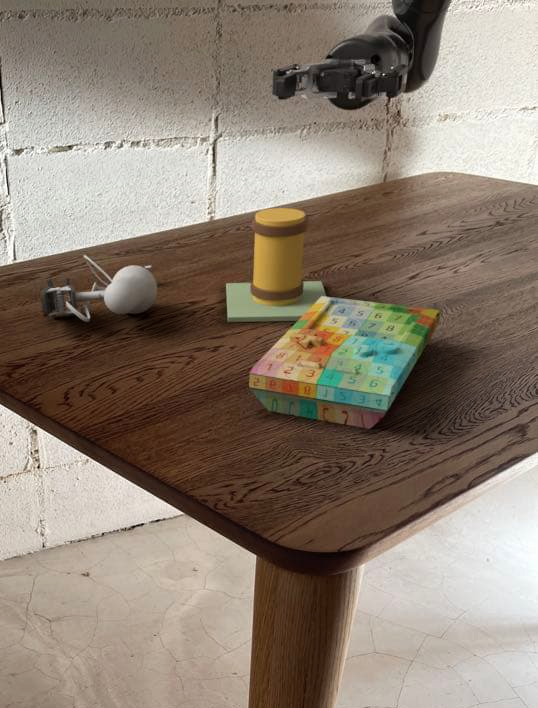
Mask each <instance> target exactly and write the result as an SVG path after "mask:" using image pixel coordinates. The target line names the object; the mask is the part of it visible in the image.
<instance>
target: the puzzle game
mask: <svg viewBox="0 0 538 708" xmlns="http://www.w3.org/2000/svg"><path fill="white" fill-rule="evenodd" d="M441 313H442V311H441V310H440V309H433V308H425V307H417V306H409V305H401V304H400V305H399V304H391V303H385V302H383V303H382V302H374V301H368V300H367V301H366V300H358V299H349V298H341V297H333V296H332V297H331V296H326V297H325V296H321V297H320V298H319V299H318V301H317V302H316V303H315V304H314V305H313V306H312V307H311V308H310V309H309V310H308V311H307V312H306V313H305V314H304V315H303V316H302V317H301V318H300V319H299V320H298V321H295V323H294V324H293V325H292V326H291V327H290V328H289V329H288V330H287V332H285V334H283V335H282V337H281V338H280V339H278V341H277V342H276V343H274V345H273V346H272V347H270V349H269V350H268V351H267V352H266V353H265V354H264V355H263V356H262V357H261V358H260V359H259V360H258V361H257V362H256V364H254V365H253V367H252V368H251V370H250V371H249V373H248V389H249V390H250V391H251V392H252V394H253V395H254V396H255V397H256V398H257V399H258V400H259V401H260V403H261V405H263V406H264V408H265V409H266V410H267V411H268V412H273V413H278V414H284V415H289V416H295V417H300V418H306V419H313V420H317V421H323V422H329V423H333V424H339V425H340V424H341V425H345V426H350V427H351V426H352V427H356V428H357V427H358V428H363V429H368V430H369V429H370V430H371V429H372V427H374V426H375V425H376V424H378V422H380V421H381V420H382V419H384V417H385V415H386V414H387V412H388V411H389V409H390V407H391V406H392V404H393V402H394V401H395V399H396V397H397V396H398V393H399V392H400V391H401V389H402V387H403V385H404V384H405V382H406V380H407V378H408V377H409V375H410V374H411V372H412V370H413V369H414V367H415V365H416V363H417V362H418V360H419V358H420V356H421V355H422V353H423V351H424V350H425V348H426V346H427V345H428V343H429V342H430V340H431V338H432V337H433V335H434V333H435V331H436V329H437V328H438V326H439V324H440V320H441Z"/></svg>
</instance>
